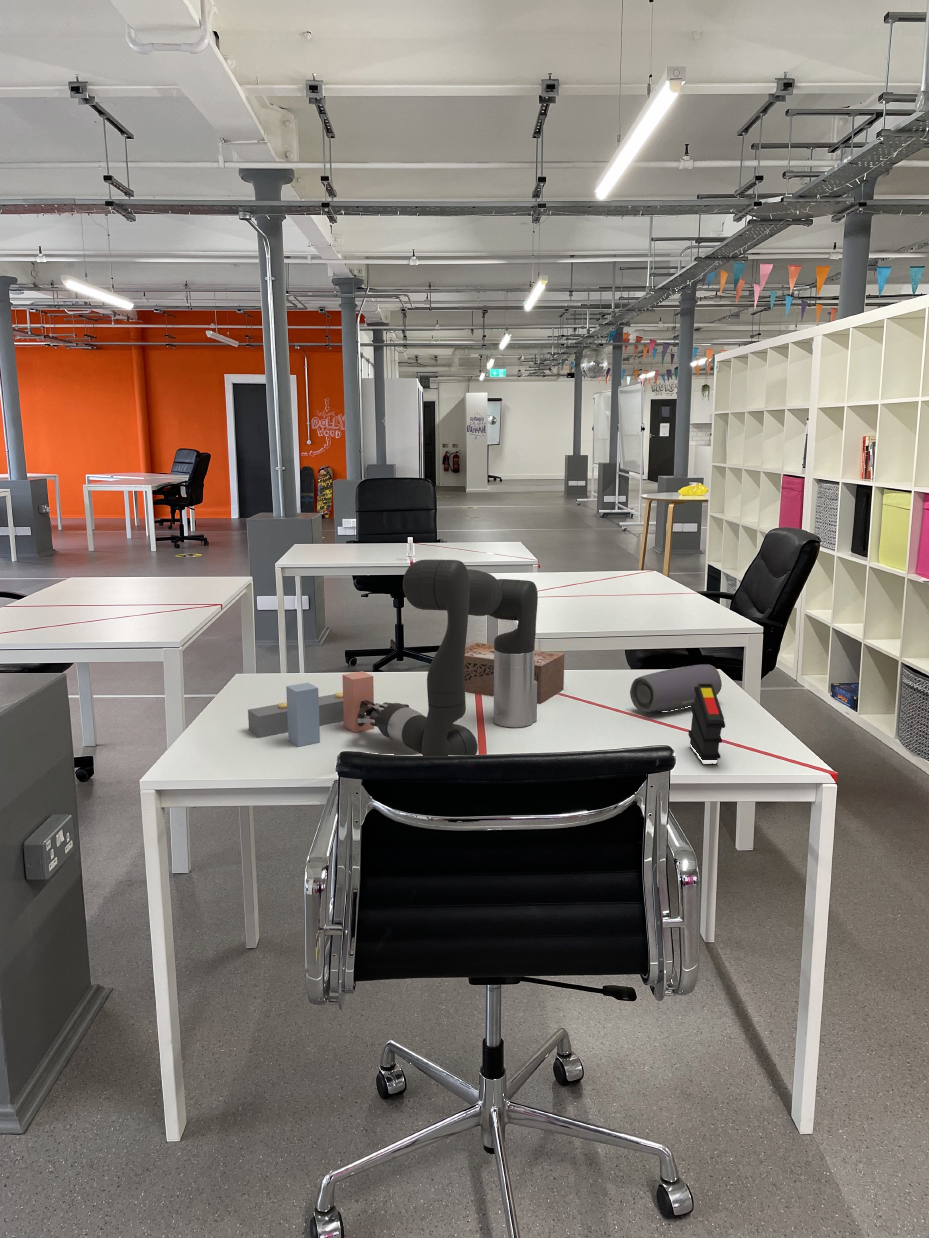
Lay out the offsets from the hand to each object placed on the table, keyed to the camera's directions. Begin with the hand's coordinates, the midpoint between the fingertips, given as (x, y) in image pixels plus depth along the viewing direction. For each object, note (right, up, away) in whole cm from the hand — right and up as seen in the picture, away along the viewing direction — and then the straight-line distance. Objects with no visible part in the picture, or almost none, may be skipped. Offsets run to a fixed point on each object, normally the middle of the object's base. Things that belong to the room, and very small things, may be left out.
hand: (363, 705), depth 195 cm
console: (-9, -7, +2) cm, 11 cm away
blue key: (-12, -7, -6) cm, 15 cm away
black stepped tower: (+72, -10, -12) cm, 73 cm away
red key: (-1, -5, +3) cm, 6 cm away
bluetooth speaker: (+73, -3, +21) cm, 77 cm away
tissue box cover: (+33, 0, +37) cm, 50 cm away
